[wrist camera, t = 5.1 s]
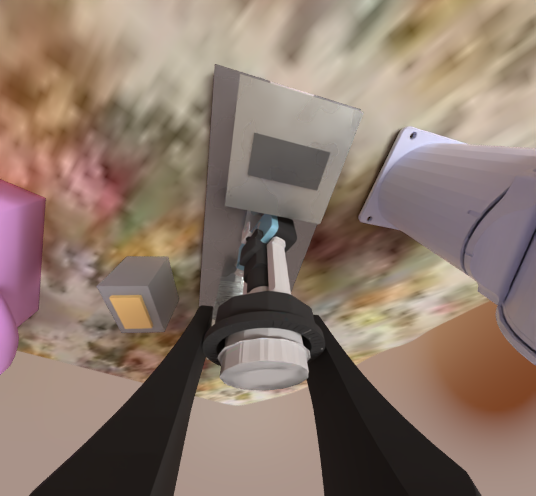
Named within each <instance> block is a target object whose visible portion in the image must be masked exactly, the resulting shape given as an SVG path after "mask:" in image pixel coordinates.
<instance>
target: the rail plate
mask: <svg viewBox="0 0 536 496" xmlns="http://www.w3.org/2000/svg"><path fill="white" fill-rule="evenodd" d="M363 113H364V112H362V111H361V109H358V108H355V107H352V106H348V105H345V104H342V103H339V102H336V101H332V100H329V99H326V98H323V97H320V96H316V95H313V94H310V93H307V92H304V91H300V90H297V89H294V88H291V87H287V86H284V85H281V84H278V83H275V82H271V81H268V80H265V79H262V78H259V77H255V76H252V75H249V74H246V73H243V72H239V71H236V70H233V69H230V68H227V67H223V66H220V65H217V64H215V70H214V85H213V101H212V116H211V131H210V146H209V161H208V176H207V191H206V207H205V222H204V237H203V252H202V267H201V282H200V298H199V306H201V305H205V306H213V316H212V326H213V325H214V324H215V320H216V316H217V311H218V307H219V306H220V305H221V304H223V303H224V302H226V301H227V300H229V299H230V298H232V297H234V296H239V295H243V283H244V280H243V277H240V276H237V275H235V274H234V273H235V272H236V270H237V268H236V266H235V265H236V264H237V261H238V254H239V248H240V246H241V244H242V243H241V241H242V240H241V239H242V231H243V229H244V228H245V226H246V225H247V223H248V222H250V230H249V231H250V232H251V231H252V229H253V228H254V227H255V225H256V224H257V223H258V221H259V220H260V219H261V217H262V216H263V215H264V214H269V215H275V216H280V217H285V218H290V219H292V220H293V222H294V226H295V230H296V234H297V241H296V242H295V244H294V245H293V246H292V247H291V248H290V249H289V250H288V251H287V252H286V253H285V254H286V264H287V271H288V278H289V285H290V291H292V289H293V286H294V283H295V281H296V278H297V275H298V273H299V270H300V268H301V265H302V262H303V260H304V257H305V255H306V252H307V249H308V247H309V244H310V242H311V239H312V236H313V234H314V231H315V228H316V226H317V224H320V223H321V221H322V218H323V216H324V213H325V210H326V208H327V205H328V203H329V200H330V198H331V195H332V193H333V190H334V187H335V185H336V182H337V180H338V177H339V175H340V172H341V170H342V167H343V164H344V162H345V159H346V157H347V154H348V152H349V149H350V147H351V144H352V141H353V139H354V136H355V134H356V131H357V129H358V126H359V124H360V121H361V118H362V116H363ZM246 230H247V228H246ZM246 230H245V231H246ZM239 273H243V271H239ZM207 360H209V359H208V358H207Z"/></svg>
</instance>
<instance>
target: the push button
mask: <svg viewBox="0 0 536 496" xmlns="http://www.w3.org/2000/svg"><path fill="white" fill-rule="evenodd" d="M246 228H247V230H246ZM245 230H246V231H245ZM249 230H250V222H248V223H247V225H246V226H245V228H244V229H243V231H242V239H241V240H242V241H241V243H242V244H241V246H240V248H239V254H238V261H237V264H236V265H235V266H236V268H237V270H236V272H235V273H234V274H235V275H237V276H240V277H243V280H244V283H243V295H239V296H234V297H232V298H230V299H229V300H227V301H226V302H224V303H223V304H221V305H220V306H219V307H218V311H217V316H216V320H215V324H214V325H213V326H212V327H210V328H209V330H208V331H207V332H206V334H205V337H204V341H203V346H202V349H203V353H204V354H205V356H206V357H207V358H208V359H209V360H210V361H212V362H214V363H215V364H217V365H220V366H221V371H220V379H221V380H222V381H223V382H224V383H225V384H227V385H229V386H232V387H235V388H240V389H247V390H274V389H283V388H287V387H291V386H294V385H297V384H300V383H301V382H303V381H304V380H306V379H307V378H308V373H309V370H308V365H307V363H310V362H311V361H313V360H315V359H316V358H318V357H319V356H320V355H321V354H322V352H323V351H324V349H325V339H324V336H323V332H322V330H321V329H320V327H319V326H318V325H317V324H315V322H314V317H313V313H312V309H311V308H310V307H309V306H307V305H306V304H304V303H303V302H301V301H300V300H298V299H297V298H295V297H294V296H292V295H291V291H290V285H289V278H288V271H287V264H286V254H285V253H286V252H287V251H288V250H289V249H290V248H291V247H292V246H293V245H294V244H295V242H296V241H297V234H296V230H295V226H294V222H293V220H292V219H290V218H285V217H280V216H275V215H269V214H264V215H263V216H262V217H261V219H260V220H259V221H258V223H257V224H256V225H255V227H254V228H253V229H252V231H251V232H250V231H249ZM239 271H243V273H239Z"/></svg>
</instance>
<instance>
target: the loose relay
mask: <svg viewBox="0 0 536 496" xmlns="http://www.w3.org/2000/svg"><path fill="white" fill-rule="evenodd" d="M96 287H97V288H98V290H99V292H100V294H101V296H102V298H103V299H104V301H105V303H106V305H107V307H108V309H109V311H110V312H111V314H112V316H113V318H114V320H115V322H116V324H117V325H118V327H119V329H120V331H121V333H143V332H165V329H166V327H167V325H168V323H169V320H170V318H171V316H172V314H173V312H174V309H175V307H176V305H177V303H178V300H179V297H178V293H177V289H176V285H175V281H174V278H173V274H172V270H171V266H170V262H169V258H168V257H126V258H125V259H124V260H123V261H122V262H121V263H120V264H119V265H118V266H117V267H116V268H115V269H114V270H113V271H112V272H111V273H110V274H109V275H108V276H107V277H106V278H105V279H103V280H102V281H101V282H100V283H99V284H98V285H97V286H96Z"/></svg>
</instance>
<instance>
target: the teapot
mask: <svg viewBox="0 0 536 496" xmlns="http://www.w3.org/2000/svg"><path fill="white" fill-rule="evenodd" d="M45 201H46V198H44V197H42V196H39V195H37V194H35V193H32V192H30V191H27V190H25V189H23V188H20V187H18V186H15V185H13V184H11V183H8V182H6V181H3V180H1V179H0V375H1V374H2V373H3V372H4V371H5V370H6V369H7V368H8V367H9V366H10V365H11V363H12V361H13V359H14V357H15V354H16V351H17V348H18V341H19V335H18V329H17V327H18V326H19V325H21V324H22V323H23V322H24V321H26V320H27V319H28V318H29V317H30V316H32V315H33V314H34V313H35V312H36V311H38V309H39V294H40V278H41V263H42V247H43V232H44V216H45Z"/></svg>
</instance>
